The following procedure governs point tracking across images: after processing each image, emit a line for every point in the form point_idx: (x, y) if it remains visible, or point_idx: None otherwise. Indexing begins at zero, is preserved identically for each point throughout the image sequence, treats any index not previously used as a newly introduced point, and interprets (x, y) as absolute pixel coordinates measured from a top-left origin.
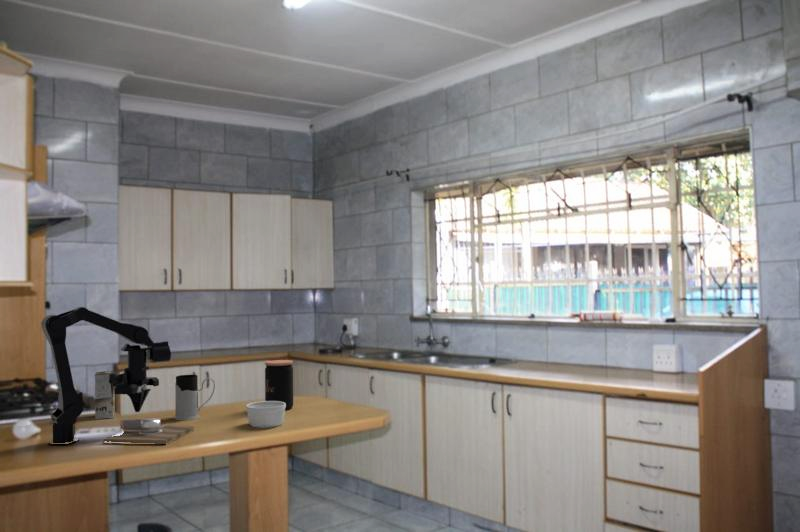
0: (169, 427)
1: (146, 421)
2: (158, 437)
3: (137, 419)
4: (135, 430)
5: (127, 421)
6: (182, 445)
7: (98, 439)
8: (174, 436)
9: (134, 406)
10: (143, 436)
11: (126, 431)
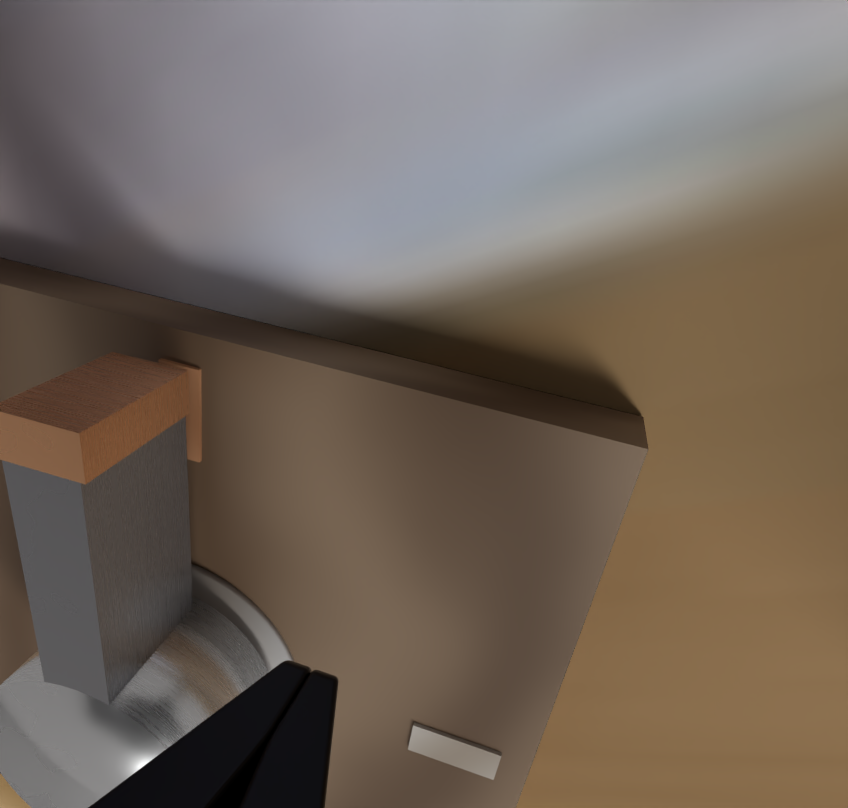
0: (403, 802)
1: (11, 740)
2: None
3: (97, 642)
4: (255, 500)
5: (30, 506)
6: (15, 799)
7: (35, 46)
8: None
9: (164, 767)
10: (15, 611)
11: None
